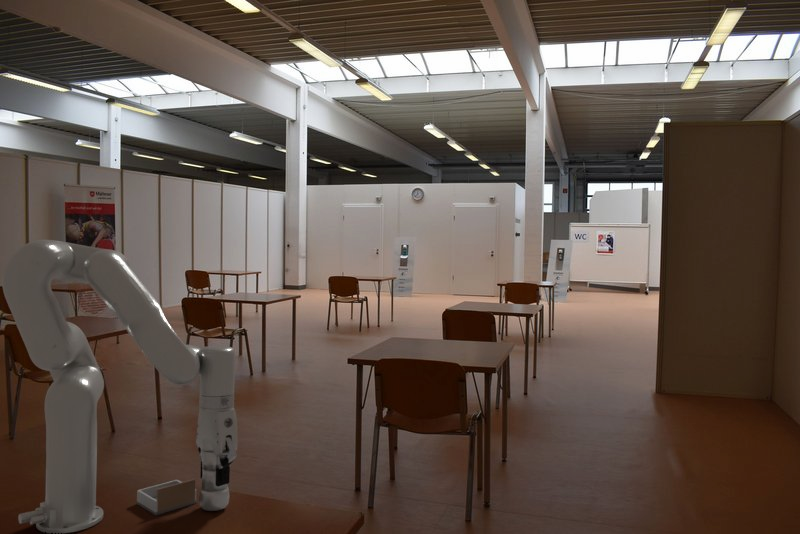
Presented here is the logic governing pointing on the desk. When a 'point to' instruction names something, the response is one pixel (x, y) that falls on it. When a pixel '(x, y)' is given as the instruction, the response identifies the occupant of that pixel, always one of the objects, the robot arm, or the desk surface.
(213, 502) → the plastic bottle
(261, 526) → the desk surface
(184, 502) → the drawer
